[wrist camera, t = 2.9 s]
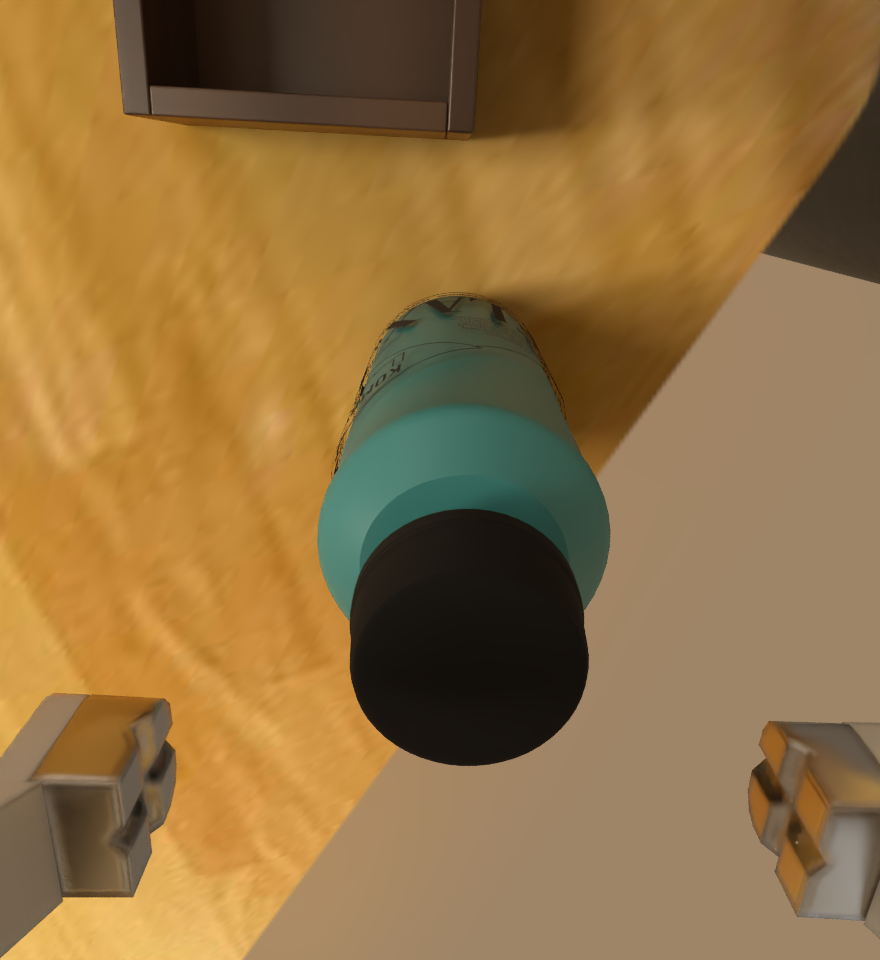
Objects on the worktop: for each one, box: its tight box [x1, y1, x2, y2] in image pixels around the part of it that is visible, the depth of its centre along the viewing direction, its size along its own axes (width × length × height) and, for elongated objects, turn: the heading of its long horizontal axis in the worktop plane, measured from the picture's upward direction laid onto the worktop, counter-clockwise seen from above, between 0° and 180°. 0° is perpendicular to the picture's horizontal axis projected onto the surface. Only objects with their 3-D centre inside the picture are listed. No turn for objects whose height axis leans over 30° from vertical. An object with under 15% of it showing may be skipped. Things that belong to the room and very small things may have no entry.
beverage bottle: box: [317, 292, 610, 766], centre depth 21 cm, size 6×7×20 cm
